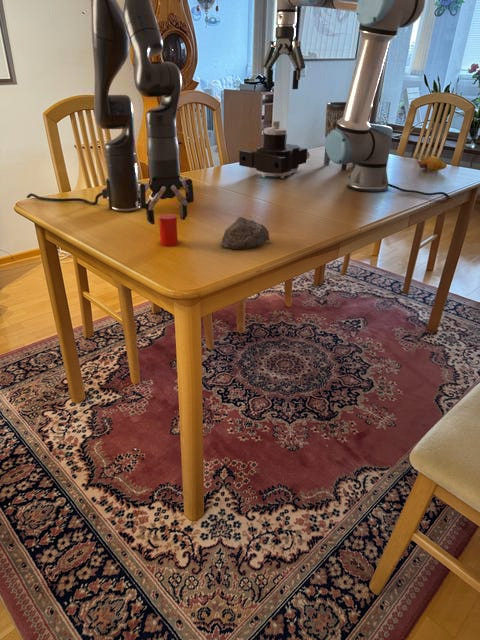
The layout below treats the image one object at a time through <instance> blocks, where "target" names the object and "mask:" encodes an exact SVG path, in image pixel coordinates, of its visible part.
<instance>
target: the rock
mask: <svg viewBox="0 0 480 640" xmlns="http://www.w3.org/2000/svg"><path fill="white" fill-rule="evenodd" d="M269 241H270V233H269V230H268V229H267V228H266V226H265V225H263V224H261V223H259V222H256V221H255V220H252V219H247V218H245V217H241V216H238V217H237V218H236V219H235V221H234V222H233V223H232V224H231V225H229V226H228V227H227V228H226V229H225V231H224V233H223V236H222V239H221V244H222V247H224V248H229V249H231V250H245V249H254V248H257V247H259V246H260V245H264V244H266V242H269Z"/></svg>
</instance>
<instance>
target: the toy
mask: <svg viewBox="0 0 480 640" xmlns="http://www.w3.org/2000/svg"><path fill="white" fill-rule="evenodd" d="M417 164H419V165H418V166H419V168H421V169H425V170H429V171H430V172H439V171H442V170H444V169H446V168H447V165H448V164H446V163H445V162H442V159H440V158H439V157H437V156H429V157H424V158H422V159H421V160H420V161H417Z"/></svg>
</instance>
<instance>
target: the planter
mask: <svg viewBox="0 0 480 640" xmlns="http://www.w3.org/2000/svg"><path fill="white" fill-rule="evenodd" d="M346 102H347V101H333V102H327V103H326V109H325V124H324V125H325V126H324V139H326V138H327V135H328V134H329V133H330V132H331V131H332V130H335V129H336V125H337V121H338V120H339V119H340V118H342V117H343V114H344V110H345V106H346ZM373 107H374V106H373V105H372V106H371V110H370V113H369V117H368V121H367V122H368V123H370V121H371V116H372V112H373ZM325 142H326V140H325ZM323 157H324V158H323V165H325V166H328V165H330V163H331V160H330V158H329V157H328V154H327V152H326V147H325V146H324V156H323ZM351 164H352V166H353V167H355V165H356V162H354V163H351ZM347 165H348V164H341V166H340V170H341V172H345V171H347V167H348V166H347Z"/></svg>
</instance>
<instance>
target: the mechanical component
mask: <svg viewBox="0 0 480 640" xmlns="http://www.w3.org/2000/svg"><path fill="white" fill-rule="evenodd" d="M287 138H288V129H287V128H286V127H280V121H279V120H272V126H271V127H265V128H264V129H263V145H262V146H258V147H257V148H256V151H250V150H245V149H241V150H239V153H238V154H239V155H238V157H239V159H238V166H240V167H245V168H250V169H255V173H256V174H257V175H261V177H262V178H267V177H279V178H280V179H285V176H291V175H292V173H298V171H299V167H300V165H303V164H304V165H305V164H307V160H309V158H310V156H311V154H310V152H309V151H308V148H304V147H301V146H299V145H297V144H290V143H287Z"/></svg>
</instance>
